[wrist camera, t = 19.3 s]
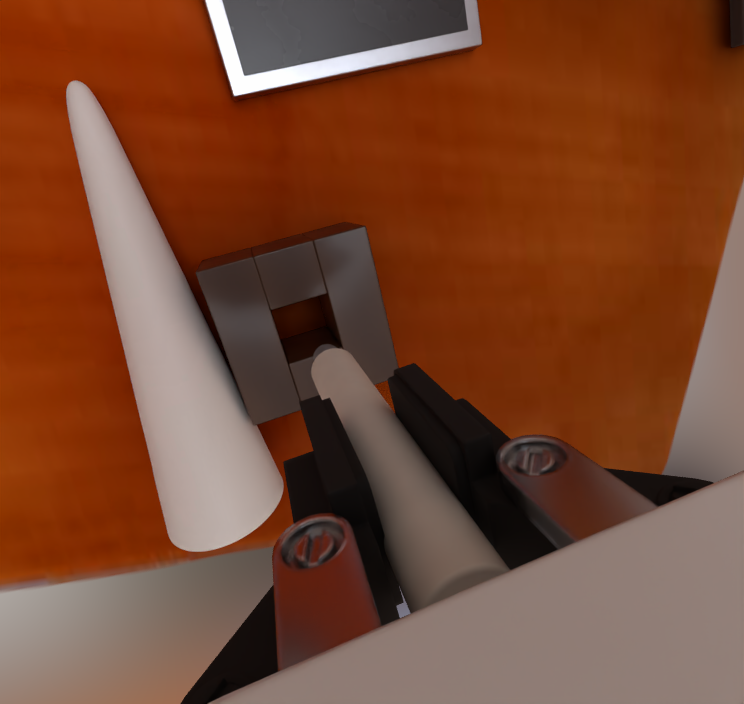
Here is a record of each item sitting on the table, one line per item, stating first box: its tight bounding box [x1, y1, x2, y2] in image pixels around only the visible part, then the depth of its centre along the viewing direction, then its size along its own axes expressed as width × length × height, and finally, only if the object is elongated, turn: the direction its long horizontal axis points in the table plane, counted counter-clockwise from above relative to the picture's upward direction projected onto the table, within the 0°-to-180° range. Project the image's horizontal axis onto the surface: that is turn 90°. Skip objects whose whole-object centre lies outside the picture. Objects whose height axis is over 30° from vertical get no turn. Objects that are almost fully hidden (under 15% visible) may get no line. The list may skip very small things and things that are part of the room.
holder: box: [196, 222, 398, 426], centre depth 23 cm, size 7×7×4 cm
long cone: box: [66, 81, 283, 552], centre depth 20 cm, size 6×6×19 cm
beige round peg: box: [311, 344, 510, 613], centre depth 12 cm, size 2×2×12 cm
